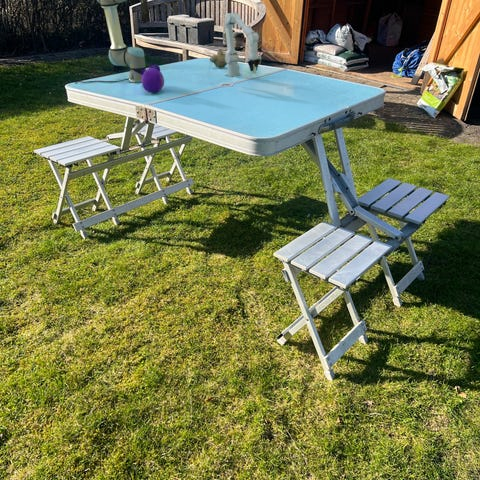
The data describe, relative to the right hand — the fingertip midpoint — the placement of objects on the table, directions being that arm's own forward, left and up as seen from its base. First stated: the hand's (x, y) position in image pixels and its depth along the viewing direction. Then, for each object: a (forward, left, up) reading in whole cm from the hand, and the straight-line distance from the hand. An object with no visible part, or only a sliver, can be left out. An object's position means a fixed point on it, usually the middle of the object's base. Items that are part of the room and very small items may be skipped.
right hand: (253, 70), depth 335 cm
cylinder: (0, 0, -1) cm, 1 cm away
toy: (+72, -35, -6) cm, 80 cm away
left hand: (+15, -96, +30) cm, 101 cm away
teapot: (-26, -53, -6) cm, 59 cm away
